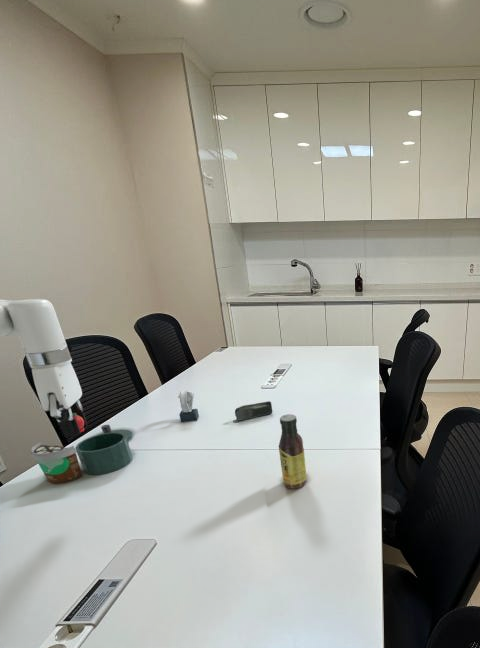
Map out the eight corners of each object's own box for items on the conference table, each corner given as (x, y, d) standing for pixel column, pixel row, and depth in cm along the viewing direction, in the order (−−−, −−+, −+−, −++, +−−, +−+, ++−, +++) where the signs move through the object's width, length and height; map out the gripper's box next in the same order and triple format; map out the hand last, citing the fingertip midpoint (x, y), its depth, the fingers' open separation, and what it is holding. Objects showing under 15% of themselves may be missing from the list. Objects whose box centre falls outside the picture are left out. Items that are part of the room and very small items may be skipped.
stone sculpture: (199, 414, 149) (193, 387, 145) (196, 422, 142) (189, 394, 138) (184, 415, 148) (177, 388, 144) (179, 424, 141) (172, 396, 137)
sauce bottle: (282, 479, 106) (273, 413, 98) (305, 475, 108) (297, 409, 100) (285, 492, 100) (276, 423, 92) (309, 487, 102) (302, 419, 94)
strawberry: (64, 436, 91) (57, 419, 89) (70, 429, 95) (64, 412, 93) (83, 433, 92) (77, 416, 90) (89, 426, 96) (83, 410, 94)
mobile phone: (269, 399, 148) (229, 407, 141) (272, 402, 146) (232, 410, 138) (270, 411, 150) (231, 420, 143) (273, 414, 148) (234, 423, 140)
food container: (31, 483, 107) (16, 452, 103) (52, 472, 113) (39, 441, 109) (66, 489, 104) (53, 456, 100) (86, 476, 110) (74, 445, 106)
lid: (80, 453, 122) (74, 438, 120) (94, 435, 134) (88, 421, 132) (127, 446, 126) (122, 431, 124) (137, 429, 138) (132, 415, 135)
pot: (77, 478, 109) (68, 455, 106) (92, 457, 120) (84, 436, 117) (126, 470, 112) (119, 447, 109) (136, 450, 123) (130, 429, 120)
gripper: (46, 350, 92) (72, 419, 100) (9, 369, 78) (42, 449, 85) (82, 347, 94) (105, 415, 102) (52, 365, 80) (81, 444, 87)
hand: (76, 430), depth 93 cm, fingers closed on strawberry, 4 cm apart
